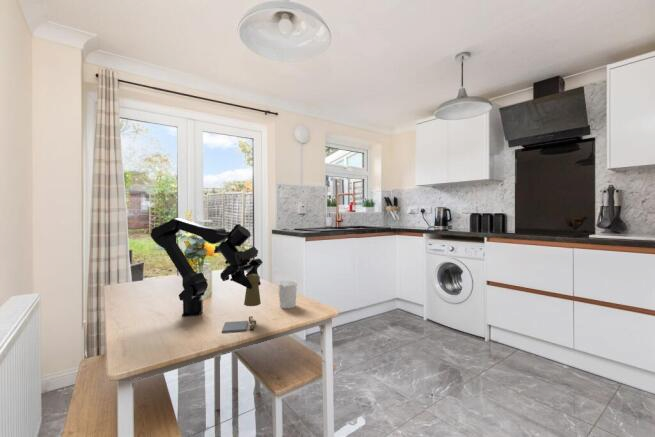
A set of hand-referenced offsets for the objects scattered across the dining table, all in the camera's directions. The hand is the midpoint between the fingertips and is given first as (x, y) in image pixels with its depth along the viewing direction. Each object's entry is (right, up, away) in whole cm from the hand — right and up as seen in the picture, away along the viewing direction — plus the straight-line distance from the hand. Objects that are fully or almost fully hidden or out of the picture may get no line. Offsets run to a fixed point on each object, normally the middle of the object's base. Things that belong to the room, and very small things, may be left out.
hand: (255, 286), depth 111 cm
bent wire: (0, -13, -3) cm, 14 cm away
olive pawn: (-1, -7, +1) cm, 7 cm away
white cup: (+9, -13, +18) cm, 24 cm away
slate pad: (-6, -13, -5) cm, 15 cm away
